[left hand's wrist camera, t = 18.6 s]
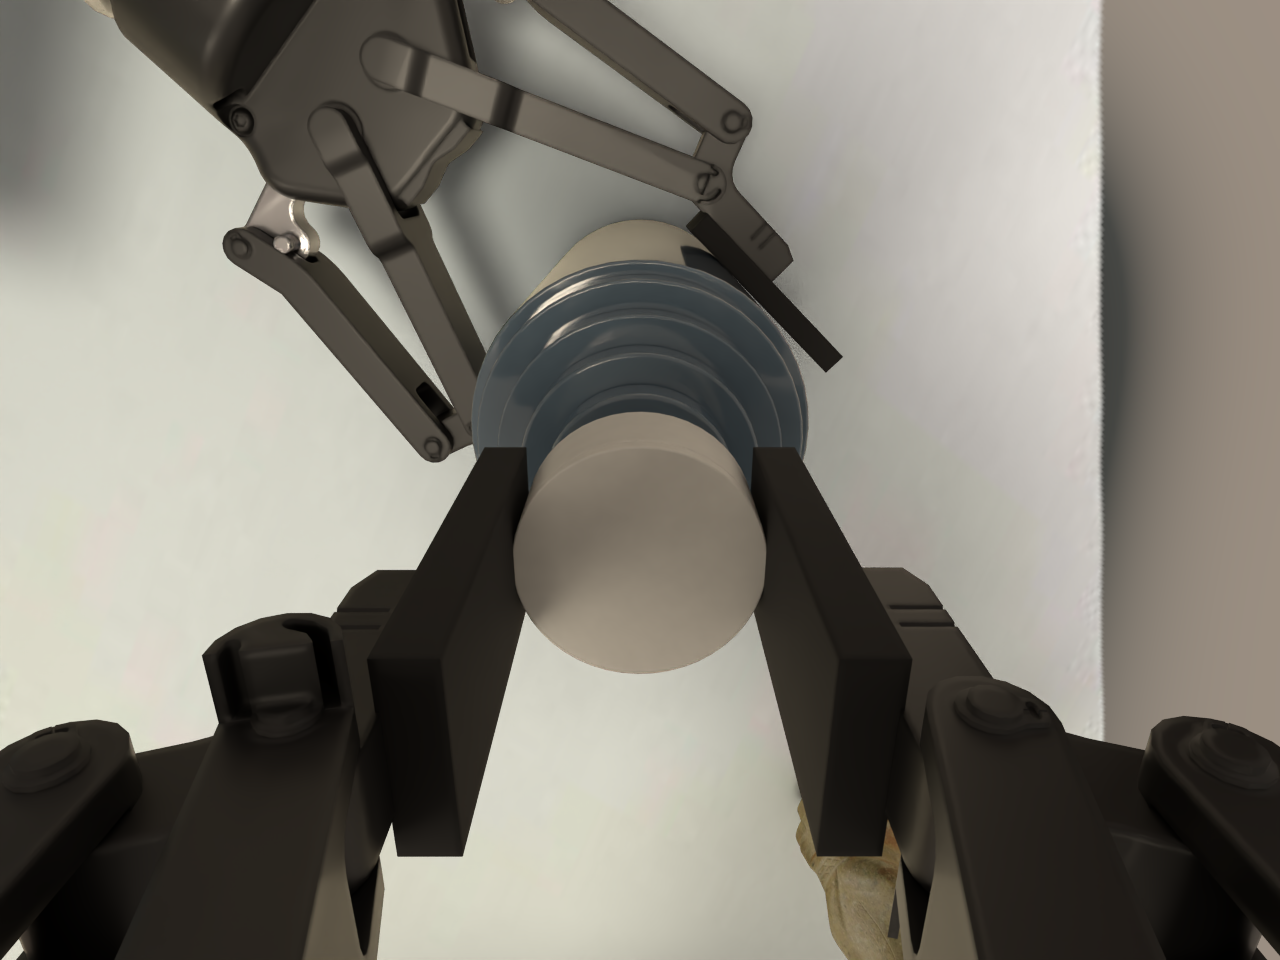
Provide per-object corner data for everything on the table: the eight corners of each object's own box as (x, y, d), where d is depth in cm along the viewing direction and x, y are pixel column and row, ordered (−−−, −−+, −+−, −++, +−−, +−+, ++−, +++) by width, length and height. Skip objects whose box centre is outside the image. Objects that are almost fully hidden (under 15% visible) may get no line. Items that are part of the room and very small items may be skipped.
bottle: (661, 447, 35) (688, 808, 15) (506, 343, 34) (311, 598, 14) (775, 298, 33) (987, 497, 13) (615, 176, 31) (572, 188, 11)
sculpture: (880, 852, 44) (991, 1166, 30) (771, 808, 43) (834, 1114, 29) (939, 780, 42) (1087, 1081, 28) (827, 732, 41) (923, 1021, 27)
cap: (480, 515, 14) (458, 564, 13) (642, 362, 13) (643, 391, 11) (636, 652, 15) (636, 715, 14) (798, 521, 14) (820, 570, 13)
